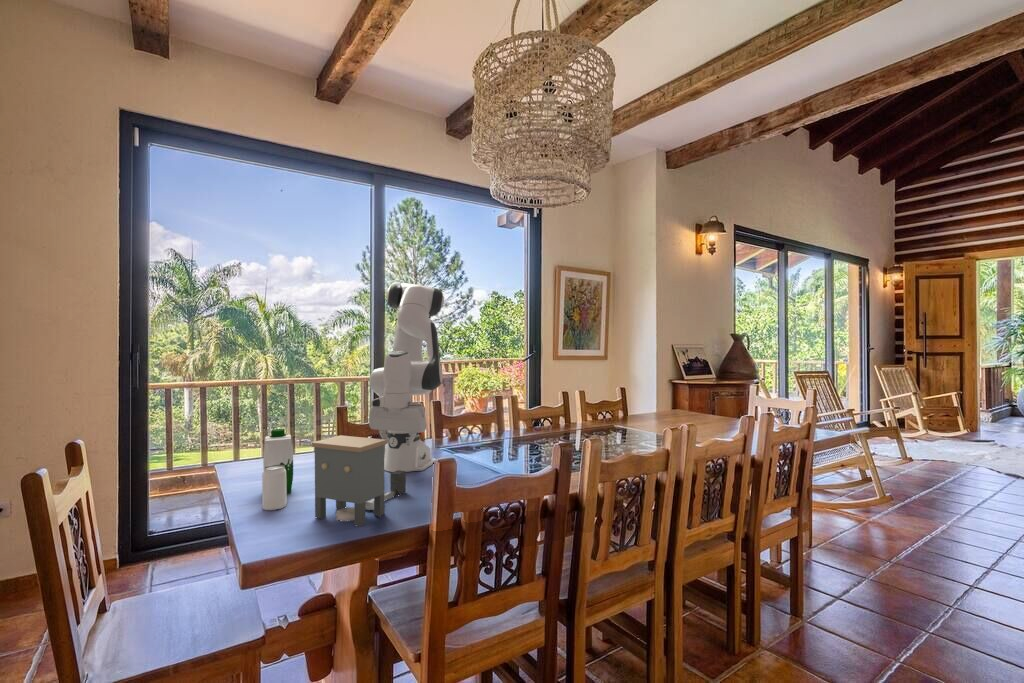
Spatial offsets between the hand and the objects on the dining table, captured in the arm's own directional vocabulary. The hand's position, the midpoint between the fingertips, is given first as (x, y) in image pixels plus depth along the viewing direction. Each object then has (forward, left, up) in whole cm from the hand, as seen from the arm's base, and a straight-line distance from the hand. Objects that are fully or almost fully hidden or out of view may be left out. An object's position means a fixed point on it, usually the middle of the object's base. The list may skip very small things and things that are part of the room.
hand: (397, 444), depth 161 cm
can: (+25, -26, -16) cm, 39 cm away
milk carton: (+14, -37, -16) cm, 43 cm away
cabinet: (+22, 0, -16) cm, 27 cm away
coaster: (+23, 0, -16) cm, 28 cm away
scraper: (+7, 0, -16) cm, 17 cm away
